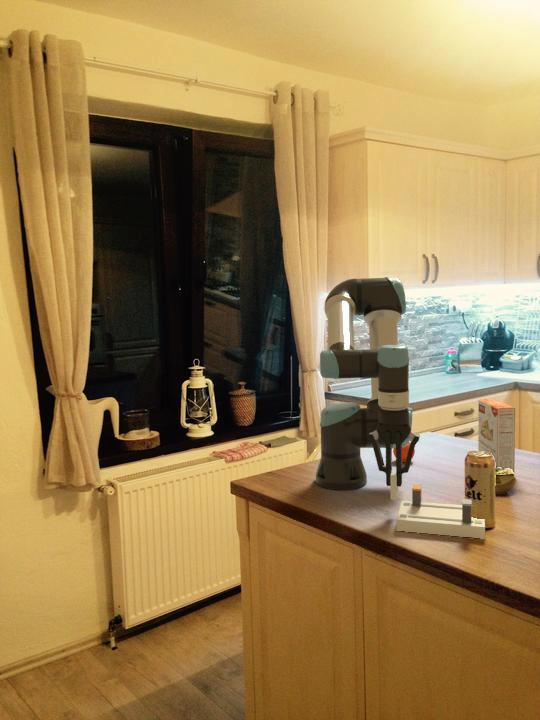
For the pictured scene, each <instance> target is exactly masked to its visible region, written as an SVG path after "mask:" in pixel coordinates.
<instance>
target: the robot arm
mask: <svg viewBox="0 0 540 720" xmlns="http://www.w3.org/2000/svg"><path fill="white" fill-rule="evenodd" d="M323 309H324V314H325V316H326V317H327V347H326V348H327V350H321V352H320V353H319V369H320V376H321V378H323V379H334V380H337V379H370V383H371V385H370V387H371V388H370V389H371V397H370V398H369V400H368V401H366V407H361V406H360V403H358V402H351V401H350V402H349V401H348V402H339V403H334V404H331V405H328V406H326V407H324V408H323V409H322V410H321V412H320V417H319V419H320V422H319V427H320V454H321V455H320V459H319V462H318V466H317V469H316V472H315V483H316V484H317V485H318V486H320V487H321V488H324V489H327V490H329V489H330V490H339V491H340V490H341V491H342V490H343V491H344V490H345V491H346V490H354V489H359V488H361V487H364V486H365V485H366V484H367V483H368V477H367V476H368V474H367V472H366V469H365V465H364V463H363V461H362V460H363V459H362V457H361V449H364V448H365V449H373V452H374V457H375V460H376V465H377V468H378V471H380V472H383V473H385V479H386V480H385V484H386V486H387V487H390V500H391V501H397V500H398V497H399V490H398V489H399V488H401V487H402V484H403V474H407V473H408V472H409V470H410V468H411V464H412V459H413V458H412V456H413V452H414V449H415V448H416V445H417V443H418V442H419V441H420V438H421V436H420V434H418V433H415V432H413V431H412V426H413V408H412V407H410V388H409V381H410V380H409V373H410V372H409V370H410V369H409V365H410V363H409V362H410V357H409V348H408V346H406V345H403V344H399V340H398V339H399V338H398V337H399V336H398V335H399V334H398V323H399V322H400V321H401V320H402V316H403V315H404V314H406V311H407V301H406V293H405V289H404V284H403V282H402V281H401V280H400V279H399V278H398V277H388V276H384V277H373V278H367V277H366V278H350V279H346V280H343V281H341V282H340V283H338V284H337V285H335V286H334V287H333V288H332V289H331V290H330V292H329V293H328V294H327V297H326V298H325V301H324V307H323ZM354 316H363V321H364V323H366V324H367V325H368V332H369V334H368V335H369V349H355V348H356V347H355V346H356V345H355V330H354ZM409 442H410V446H409V450H408V454H407V458H406V462H404V466H403V462H402V447H406V446H407V445H408V443H409ZM393 448H396V457H395V461H396V462H395V470H396V471H392V470H393V456H392V455H393V453H392V452H393ZM381 449H385V461H384V459H383V454H382V450H381ZM413 457H414V456H413Z"/></svg>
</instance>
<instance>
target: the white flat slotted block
mask: <svg viewBox="0 0 540 720" xmlns="http://www.w3.org/2000/svg"><path fill="white" fill-rule="evenodd" d="M395 522H396V525H395V526H396V532H397V531H405V532H404V533H408V532H417V533H416V534H419V533H429V534H439V535H438V536H440V535H450V536H449V537H451V536H463V537H473V538H480V539H479V540H484V539H485V540H486V523H485V522H486V519H477V518H473V517H471V522H462V504H454V503H453V504H452V503H451V504H450V503H439V502H425V501H421V506H413V505H412V500H401V503H400V506H399V509H398V513H397V517H396V521H395ZM406 531H407V532H406ZM429 534H428V535H429ZM473 538H472V539H473Z"/></svg>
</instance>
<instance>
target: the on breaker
mask: <svg viewBox="0 0 540 720" xmlns="http://www.w3.org/2000/svg"><path fill="white" fill-rule="evenodd" d="M461 500H462V502H461V505H462V522H471V506H473V505H472V504H473V501H472V499H468V498H462V499H461Z"/></svg>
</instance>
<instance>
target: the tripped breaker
mask: <svg viewBox="0 0 540 720" xmlns="http://www.w3.org/2000/svg"><path fill="white" fill-rule="evenodd" d="M422 485H423V484H412V487H411V494H412V495H411V496H412V497H411V501H412V505H413V506H421V502H422V487H423V486H422Z"/></svg>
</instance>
